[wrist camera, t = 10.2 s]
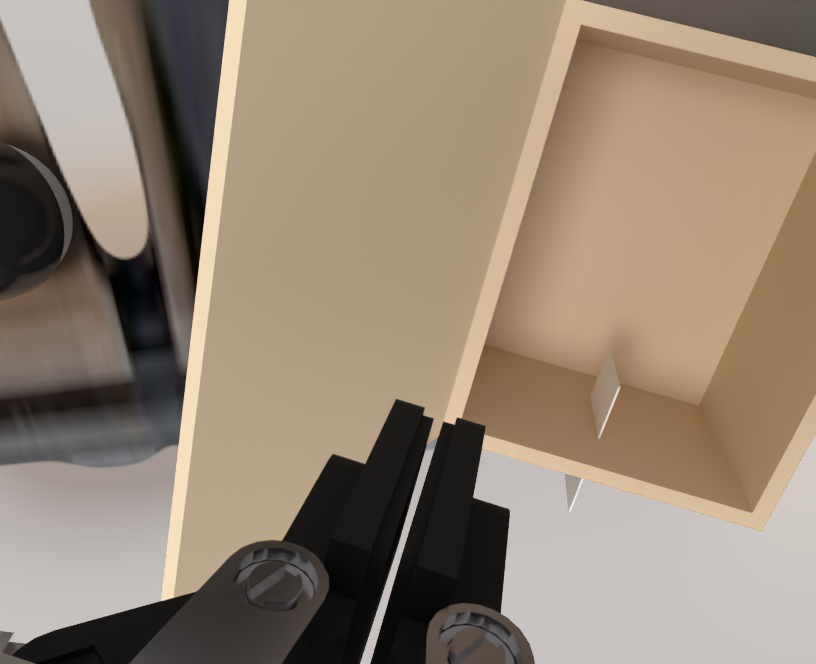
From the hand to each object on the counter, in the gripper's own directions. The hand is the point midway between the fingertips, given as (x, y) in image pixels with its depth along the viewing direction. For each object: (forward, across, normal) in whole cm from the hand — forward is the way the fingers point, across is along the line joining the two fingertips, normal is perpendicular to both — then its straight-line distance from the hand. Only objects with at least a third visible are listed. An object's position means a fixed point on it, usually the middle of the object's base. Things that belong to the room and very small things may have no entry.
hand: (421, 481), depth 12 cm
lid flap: (+12, +3, 0) cm, 12 cm away
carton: (+31, -8, +2) cm, 32 cm away
